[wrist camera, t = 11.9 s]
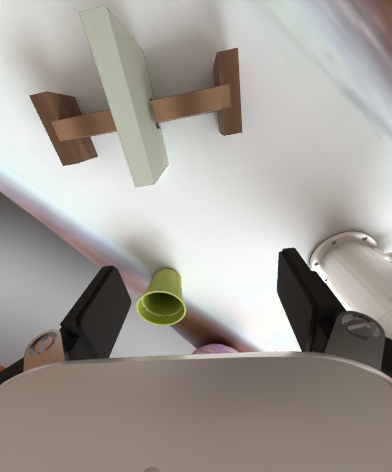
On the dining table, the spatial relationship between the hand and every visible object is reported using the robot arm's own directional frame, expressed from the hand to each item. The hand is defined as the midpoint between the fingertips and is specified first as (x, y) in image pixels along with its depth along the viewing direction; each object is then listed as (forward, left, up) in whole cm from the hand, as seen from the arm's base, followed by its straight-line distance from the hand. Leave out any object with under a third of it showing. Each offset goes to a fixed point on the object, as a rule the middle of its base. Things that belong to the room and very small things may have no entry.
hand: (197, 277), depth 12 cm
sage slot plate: (+6, -10, -25) cm, 28 cm away
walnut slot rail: (+6, -10, -25) cm, 28 cm away
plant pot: (+11, +21, -26) cm, 35 cm away
